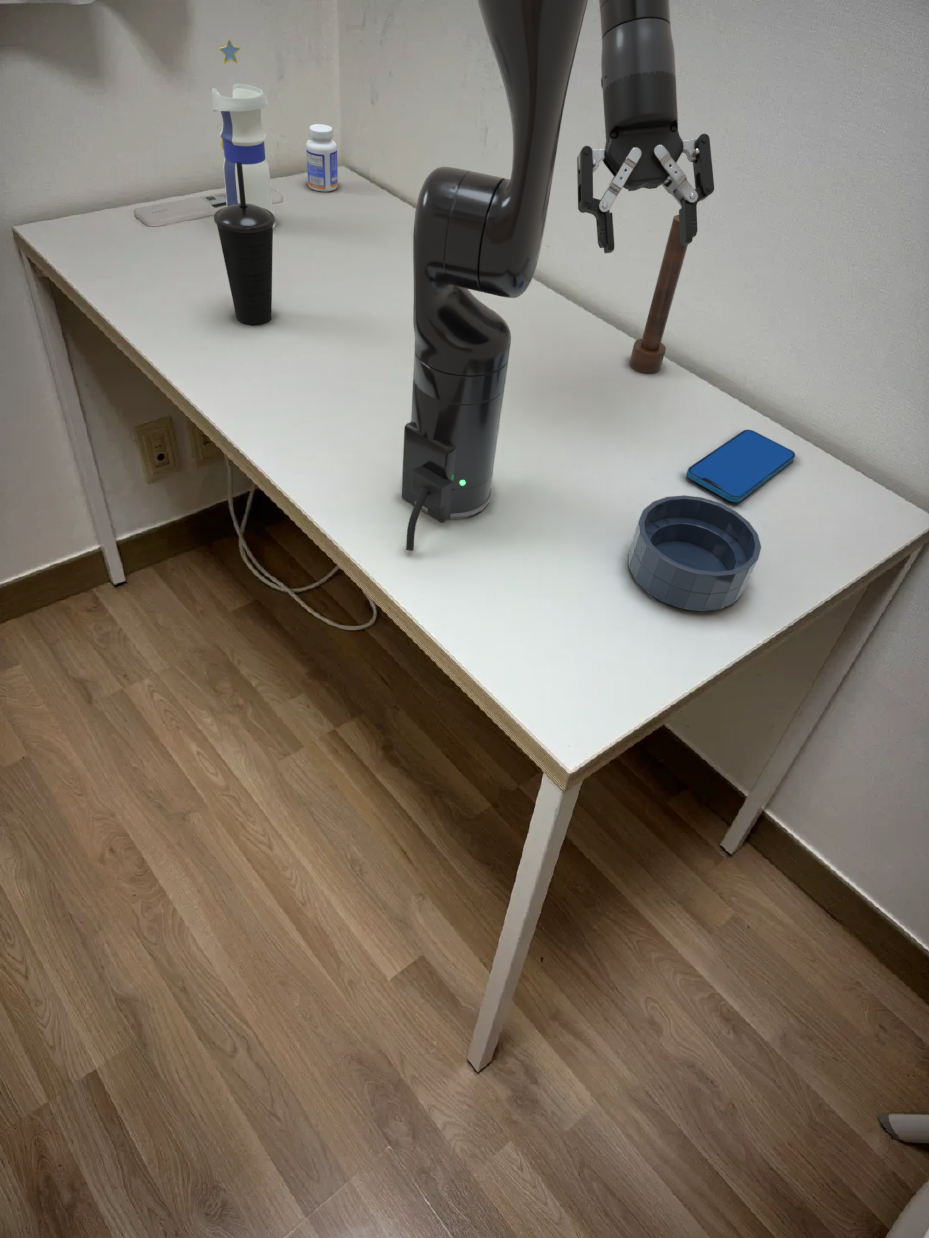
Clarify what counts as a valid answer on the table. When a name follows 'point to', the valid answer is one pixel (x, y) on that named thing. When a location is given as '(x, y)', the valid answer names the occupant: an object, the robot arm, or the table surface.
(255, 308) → the drinking cup
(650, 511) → the bowl
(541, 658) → the table surface
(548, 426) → the table surface
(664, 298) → the muddler
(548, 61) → the robot arm
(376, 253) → the table surface
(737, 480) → the smartphone
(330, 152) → the pill bottle
